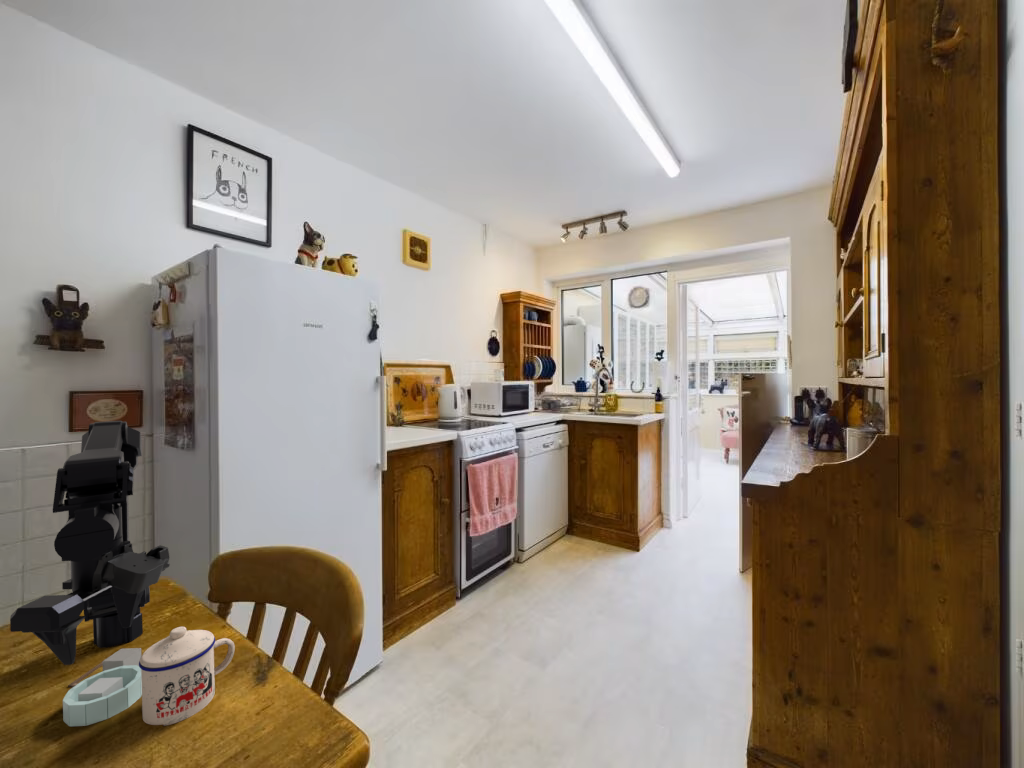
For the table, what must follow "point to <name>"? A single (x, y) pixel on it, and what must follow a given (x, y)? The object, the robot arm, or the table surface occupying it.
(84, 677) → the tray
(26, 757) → the table surface
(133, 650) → the grey cube
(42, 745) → the table surface
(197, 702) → the teacup with lid
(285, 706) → the table surface
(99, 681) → the light grey cube
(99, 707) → the bowl
